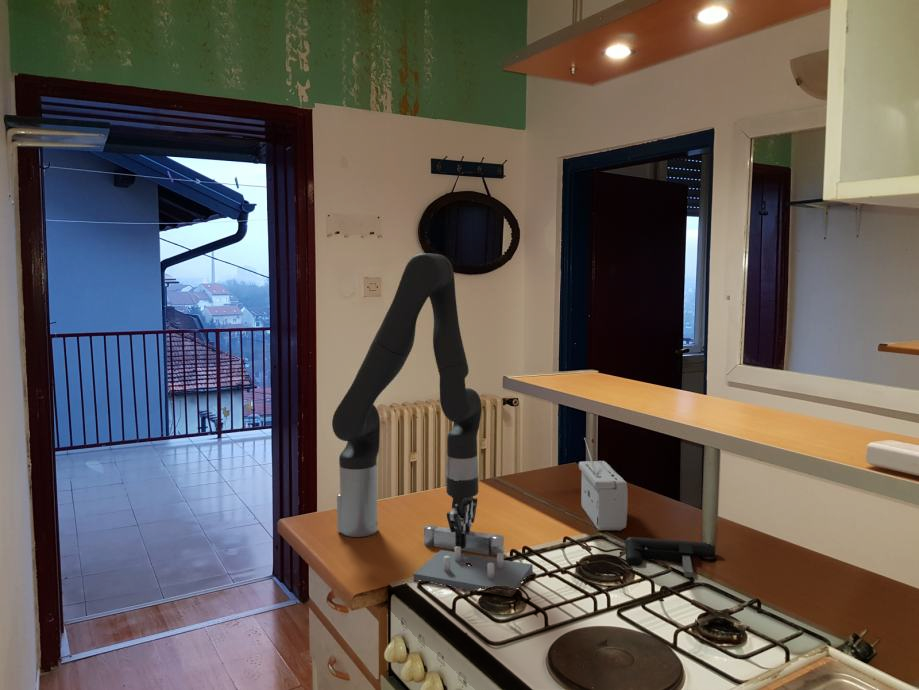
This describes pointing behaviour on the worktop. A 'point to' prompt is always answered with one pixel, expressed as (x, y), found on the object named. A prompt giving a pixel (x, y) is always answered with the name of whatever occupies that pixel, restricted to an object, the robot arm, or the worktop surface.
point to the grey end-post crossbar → (473, 540)
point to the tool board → (472, 571)
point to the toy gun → (666, 551)
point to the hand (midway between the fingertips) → (462, 545)
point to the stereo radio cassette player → (603, 495)
